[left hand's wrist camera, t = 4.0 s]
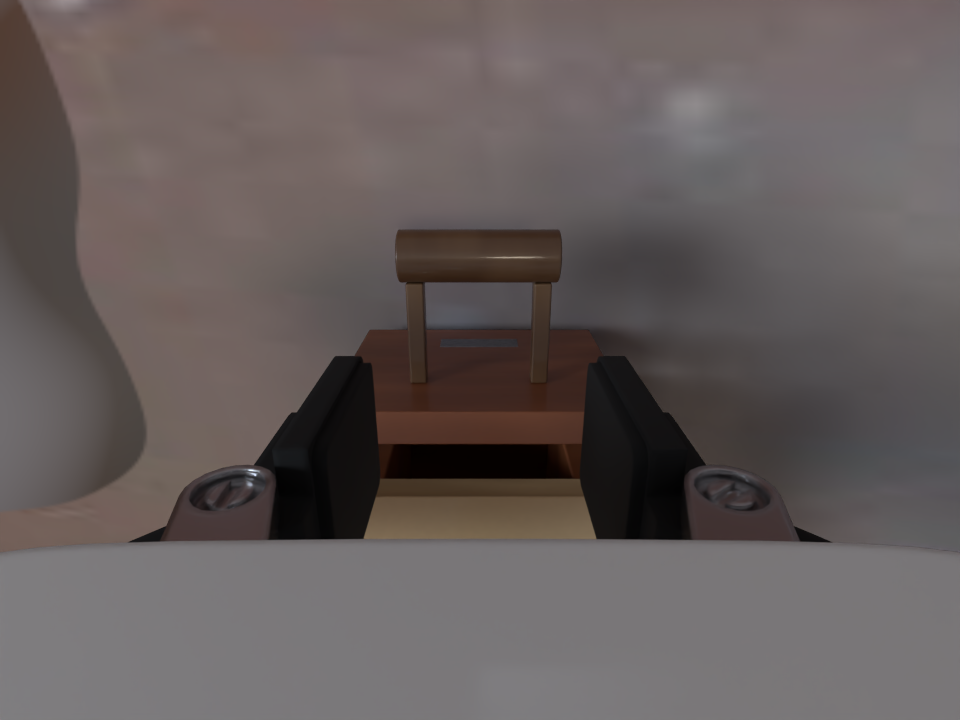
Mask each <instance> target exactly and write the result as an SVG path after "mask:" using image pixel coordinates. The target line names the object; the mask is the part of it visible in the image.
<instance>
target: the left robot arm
mask: <svg viewBox="0 0 960 720" xmlns="http://www.w3.org/2000/svg"><path fill="white" fill-rule="evenodd" d="M580 483H581V488H582V491H583V495H584V498H585V502H586V505H587V508H588V512H589V515H590V519H591V522H592V525H593V529H594V532H595V536H596V539H364V536H365V532H366V529H367V525H368V522H369V519H370V515H371V512H372V508H373V505H374V502H375V498H376V495H377V491H378V488H379V484H380V460H379V447H378V434H377V421H376V408H375V395H374V382H373V370H372V365H371V363H363V359H362V357H361V356H335V357H334V358H333V360H332V361H331V363H330V364H329V366H328V367H327V369H326V370H325V372H324V373H323V375H322V376H321V378H320V379H319V381H318V382H317V384H316V385H315V386H314V388H313V389H312V391H311V392H310V394H309V395H308V397H307V398H306V400H305V401H304V403H303V404H302V406H301V407H300V409H299V410H298V412H297V413H291V414H290V415H289V416H288V417H287V419H286V420H285V421H284V423H283V424H282V426H281V427H280V429H279V430H278V431H277V433H276V434H275V436H274V437H273V439H272V440H271V441H270V443H269V444H268V446H267V447H266V449H265V450H264V451H263V453H262V454H261V456H260V457H259V459H258V460H257V461H256V463H255V464H254V465H235V466H230V467H225V468H221V469H218V470H215V471H212V472H209V473H206V474H205V475H203V476H201V477H199V478H197V479H195V480H194V481H192V482H191V483H190V484H189V485H187V486H186V487H185V488H184V490H183V491H182V493H181V494H180V495H179V497H178V500H177V502H176V505H175V507H174V509H173V512H172V514H171V516H170V519H169V521H168V523H167V526H165V527H163V528H161V529H158V530H156V531H154V532H151V533H149V534H146V535H144V536H142V537H139V538H137V539H135V540H132V541H130V542H127V543H100V544H80V545H66V546H52V547H38V548H31V549H23V550H15V551H8V552H0V720H960V553H959V552H953V551H946V550H937V549H929V548H920V547H910V546H894V545H878V544H862V543H833V542H830V541H828V540H825V539H823V538H821V537H818V536H816V535H814V534H811V533H809V532H806V531H804V530H802V529H799V528H797V527H795V526H793V523H792V521H791V519H790V516H789V514H788V512H787V509H786V507H785V505H784V502H783V500H782V497H781V495H780V494H779V493H778V491H777V490H776V488H775V487H774V486H773V485H771V484H770V483H769V482H768V481H766V480H765V479H763V478H761V477H759V476H757V475H755V474H754V473H751V472H748V471H745V470H742V469H739V468H735V467H730V466H725V465H706V464H705V463H704V461H703V460H702V459H701V457H700V456H699V454H698V453H697V451H696V450H695V449H694V447H693V446H692V444H691V443H690V441H689V440H688V439H687V437H686V436H685V434H684V433H683V431H682V430H681V429H680V427H679V426H678V424H677V423H676V421H675V420H674V419H673V417H672V416H671V415H670V414H669V413H663V412H662V410H661V409H660V407H659V406H658V404H657V403H656V401H655V400H654V398H653V397H652V395H651V394H650V392H649V391H648V389H647V388H646V386H645V385H644V383H643V382H642V381H641V379H640V378H639V376H638V375H637V373H636V372H635V370H634V369H633V367H632V366H631V364H630V363H629V361H628V360H627V358H626V357H625V356H599V357H598V359H597V363H589V365H588V370H587V382H586V395H585V408H584V421H583V434H582V447H581V460H580Z"/></svg>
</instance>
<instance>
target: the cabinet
mask: <svg viewBox="0 0 960 720" xmlns="http://www.w3.org/2000/svg"><path fill="white" fill-rule="evenodd" d="M364 539H596V536H595V532H594V529H593V525H592V522H591V519H590V515H589V512H588V508H587V505H586V502H585V498H584V495H583V491H582V488H581V483H580V479H380V484H379V488H378V491H377V495H376V498H375V502H374V505H373V508H372V512H371V515H370V519H369V522H368V525H367V529H366V532H365V536H364Z"/></svg>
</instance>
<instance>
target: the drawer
mask: <svg viewBox="0 0 960 720" xmlns="http://www.w3.org/2000/svg"><path fill="white" fill-rule="evenodd" d="M395 260H396V271H397V277H398V280H399V282H407V283H406V305H407V325H408V330H370V331H369V332H368V334H367V336H366V337H365V339H364V341H363V342H362V344H361V346H360V347H359V349H358V351H357V353H356V354H355V356H361V357H362V359H363V363H371V365H372V370H373V382H374V395H375V408H376V421H377V434H378V447H379V460H380V479H580V460H581V447H582V434H583V421H584V408H585V395H586V382H587V370H588V365H589V363H597V359H598V357H599V356H603V354H602V353H601V351H600V349H599V347H598V346H597V344H596V342H595V340H594V339H593V337H592V335H591V333H590V332H589V330H550V315H551V295H552V284H551V282H558V281H559V278H560V274H561V265H562V239H561V233H560V231H559V230H398V232H397V235H396V243H395ZM425 282H533V291H532V320H531V330H426V304H425Z"/></svg>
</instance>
